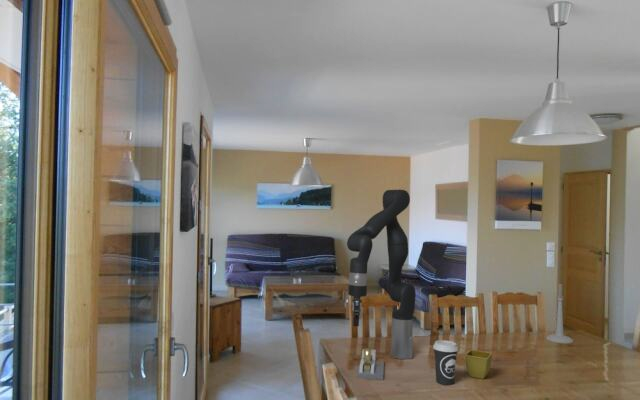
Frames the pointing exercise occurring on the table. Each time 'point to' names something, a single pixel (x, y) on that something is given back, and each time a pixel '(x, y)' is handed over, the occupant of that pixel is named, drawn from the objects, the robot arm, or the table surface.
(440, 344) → the coffee cup
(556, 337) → the candlestick
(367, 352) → the brass bolt
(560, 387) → the table surface
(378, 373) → the door and jamb plate
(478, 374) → the flower pot
